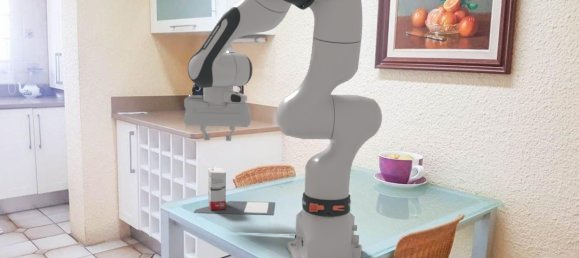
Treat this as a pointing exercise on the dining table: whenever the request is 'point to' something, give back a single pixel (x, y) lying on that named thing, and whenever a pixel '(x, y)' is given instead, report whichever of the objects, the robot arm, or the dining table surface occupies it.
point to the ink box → (216, 188)
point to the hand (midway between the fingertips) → (217, 140)
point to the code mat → (242, 208)
